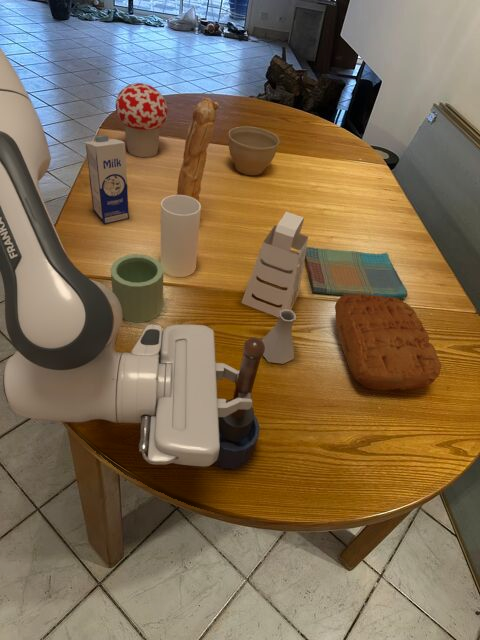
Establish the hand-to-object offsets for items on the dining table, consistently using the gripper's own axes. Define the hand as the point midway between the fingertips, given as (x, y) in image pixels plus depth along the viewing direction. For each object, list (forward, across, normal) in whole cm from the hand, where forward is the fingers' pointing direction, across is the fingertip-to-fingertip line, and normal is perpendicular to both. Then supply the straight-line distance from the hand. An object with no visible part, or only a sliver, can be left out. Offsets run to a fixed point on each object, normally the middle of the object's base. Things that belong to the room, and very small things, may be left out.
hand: (250, 389), depth 56 cm
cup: (-10, +46, +16) cm, 50 cm away
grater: (+11, +37, +16) cm, 42 cm away
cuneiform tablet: (+31, +21, +16) cm, 41 cm away
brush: (-1, 0, +9) cm, 9 cm away
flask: (+10, +21, +16) cm, 28 cm away
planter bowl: (+12, +101, +16) cm, 103 cm away
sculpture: (-7, +67, +16) cm, 69 cm away
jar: (-18, +32, +16) cm, 40 cm away
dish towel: (+33, +47, +16) cm, 59 cm away
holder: (-1, 0, +16) cm, 16 cm away
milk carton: (-28, +66, +16) cm, 73 cm away
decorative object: (-23, +106, +16) cm, 110 cm away
